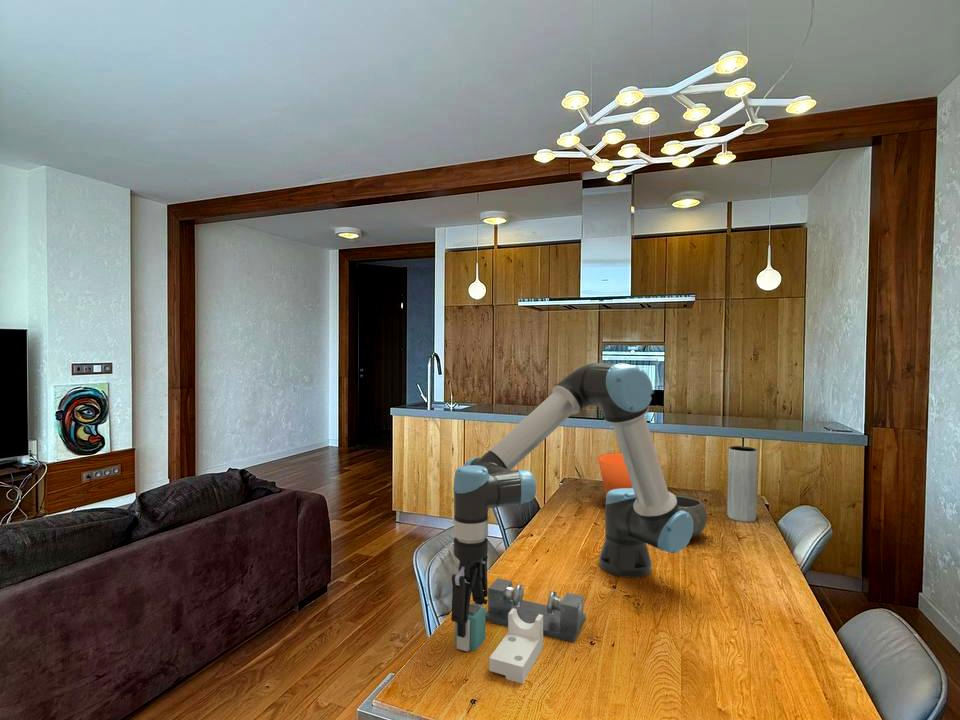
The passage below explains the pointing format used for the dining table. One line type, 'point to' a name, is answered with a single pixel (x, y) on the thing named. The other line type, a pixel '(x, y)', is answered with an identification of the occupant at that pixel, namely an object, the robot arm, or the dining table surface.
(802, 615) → the dining table surface
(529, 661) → the bracket
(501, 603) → the shaft bench
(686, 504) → the bowl
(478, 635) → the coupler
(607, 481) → the flowerpot
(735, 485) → the vase
